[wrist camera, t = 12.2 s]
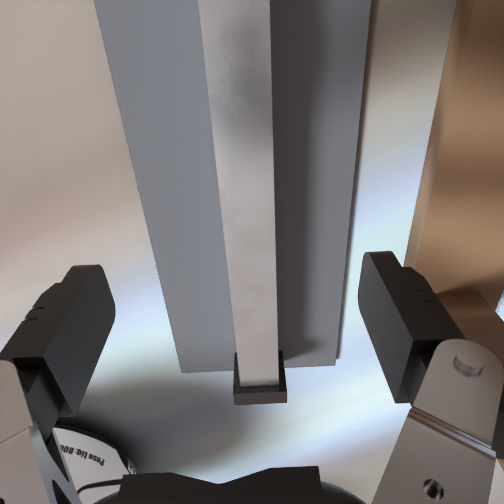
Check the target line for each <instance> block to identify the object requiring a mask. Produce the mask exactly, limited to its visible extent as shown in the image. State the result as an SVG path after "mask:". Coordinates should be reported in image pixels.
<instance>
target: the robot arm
mask: <svg viewBox="0 0 504 504" xmlns="http://www.w3.org/2000/svg"><path fill="white" fill-rule="evenodd" d="M358 305H359V309H360V313H361V315H362V318H363V320H364V323H365V326H366V328H367V331H368V333H369V336H370V339H371V341H372V344H373V347H374V349H375V352H376V354H377V357H378V360H379V362H380V365H381V367H382V370H383V373H384V375H385V378H386V380H387V383H388V386H389V388H390V391H391V393H392V396H393V399H394V401H395V403H410V404H411V406H412V409H410V411H409V413H408V415H407V418H406V420H405V422H404V425H403V427H402V430H401V432H400V435H399V437H398V440H397V442H396V444H395V447H394V449H393V452H392V454H391V457H390V459H389V462H388V464H387V467H386V469H385V471H384V474H383V476H382V479H381V481H380V484H379V486H378V489H377V491H376V494H375V496H374V498H373V501H372V503H371V504H488V501H489V495H490V490H491V484H492V479H493V473H494V468H495V462H496V458H497V459H501V460H504V365H502V363H501V362H500V360H499V359H498V358H497V357H496V356H495V355H494V354H493V353H492V352H491V351H489V350H488V349H486V348H485V347H483V346H481V345H479V344H477V343H474V342H471V341H468V340H466V338H465V337H464V335H463V334H462V332H461V331H460V329H459V328H458V326H457V325H456V323H455V322H454V320H453V319H452V317H451V316H450V314H449V313H448V311H447V310H446V308H445V307H444V305H443V304H442V303H441V302H440V301H439V298H438V297H437V295H436V294H435V292H433V289H432V288H431V286H430V285H429V283H428V282H427V280H426V279H425V277H424V276H422V275H421V274H420V273H418V272H417V271H416V270H414V269H413V268H411V267H401V265H400V263H399V262H398V260H397V258H396V257H395V255H394V253H393V252H392V251H380V252H366V253H365V254H364V256H363V261H362V268H361V275H360V281H359V288H358ZM114 320H115V303H114V300H113V297H112V294H111V291H110V288H109V285H108V282H107V279H106V276H105V273H104V270H103V268H102V267H101V266H100V265H78V266H72V267H71V268H70V270H69V271H68V273H67V274H66V276H65V277H64V279H63V280H62V282H61V283H55V284H54V285H53V286H51V287H50V288H49V289H48V290H46V291H45V292H44V293H43V294H41V296H40V297H39V298H38V300H37V301H36V303H35V304H34V305H33V307H32V310H30V311H29V313H28V314H27V315H26V317H25V321H22V323H21V324H20V325H19V327H18V328H17V330H16V331H15V333H14V334H13V335H12V337H11V338H10V340H9V341H8V343H7V344H6V345H5V347H4V348H3V350H2V351H1V352H0V504H82V502H81V500H80V498H79V496H78V493H77V491H76V489H75V486H74V483H73V480H72V477H71V475H70V472H69V469H68V466H67V463H66V461H65V458H64V455H63V452H62V449H61V447H60V444H59V441H58V438H57V435H56V433H55V431H54V430H53V427H54V425H55V423H56V421H57V419H58V417H75V416H76V414H77V411H78V409H79V406H80V404H81V401H82V399H83V396H84V394H85V392H86V389H87V387H88V384H89V382H90V379H91V377H92V375H93V372H94V370H95V367H96V365H97V362H98V360H99V357H100V355H101V353H102V350H103V348H104V345H105V343H106V340H107V338H108V335H109V333H110V331H111V328H112V326H113V323H114ZM93 504H366V503H365V502H363V501H362V500H361V499H359V498H358V497H356V496H355V495H353V494H352V493H350V492H348V491H346V490H344V489H342V488H340V487H337V486H335V485H332V484H330V483H326V482H322V481H321V480H320V474H319V468H318V466H305V467H282V468H269V469H266V470H263V471H260V472H256V473H253V474H250V475H247V476H244V477H241V478H238V479H235V480H232V481H229V482H226V483H222V484H216V483H211V482H207V481H203V480H199V479H195V478H191V477H187V476H183V475H179V474H175V473H171V472H168V473H146V474H123V477H122V481H121V485H120V489H119V491H118V492H115V493H112V494H110V495H108V496H106V497H104V498H102V499H100V500H98V501H97V502H95V503H93Z"/></svg>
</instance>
